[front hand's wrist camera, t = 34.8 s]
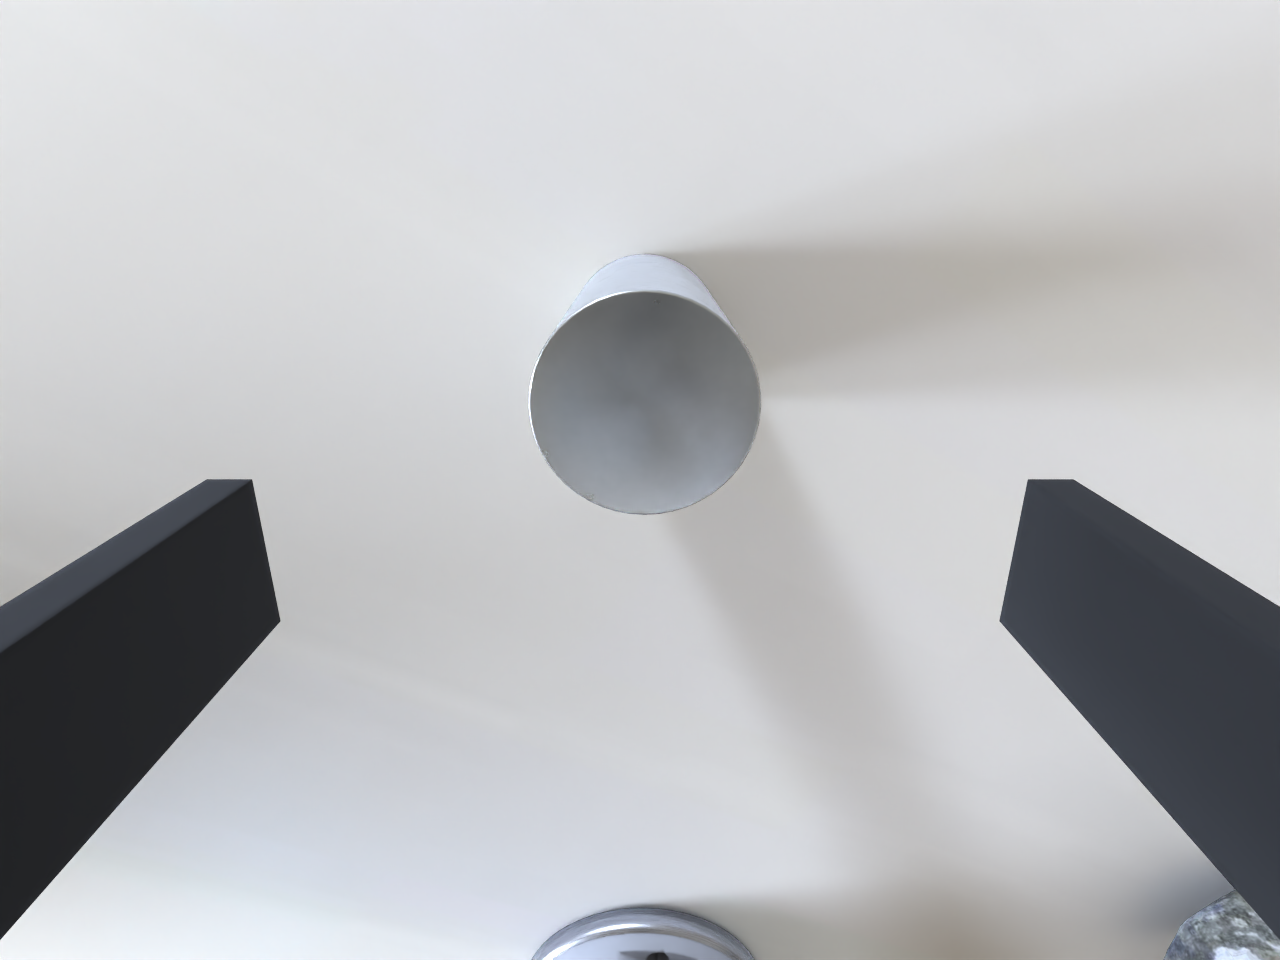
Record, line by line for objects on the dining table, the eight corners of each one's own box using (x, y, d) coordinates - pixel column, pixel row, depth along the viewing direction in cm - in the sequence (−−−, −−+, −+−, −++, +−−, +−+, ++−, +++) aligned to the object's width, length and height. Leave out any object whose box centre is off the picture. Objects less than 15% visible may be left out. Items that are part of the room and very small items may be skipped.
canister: (584, 409, 32) (550, 527, 21) (559, 265, 30) (507, 307, 18) (724, 392, 32) (769, 501, 20) (710, 243, 30) (752, 273, 18)
